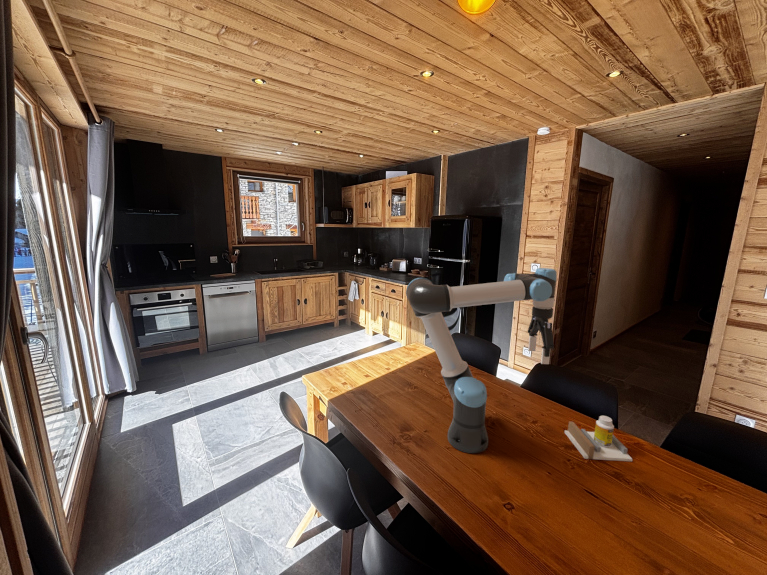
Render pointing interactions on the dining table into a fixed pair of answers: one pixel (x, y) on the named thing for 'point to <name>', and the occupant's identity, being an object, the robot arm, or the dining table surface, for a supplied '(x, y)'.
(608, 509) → the dining table surface
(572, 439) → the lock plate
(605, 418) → the supplement bottle
